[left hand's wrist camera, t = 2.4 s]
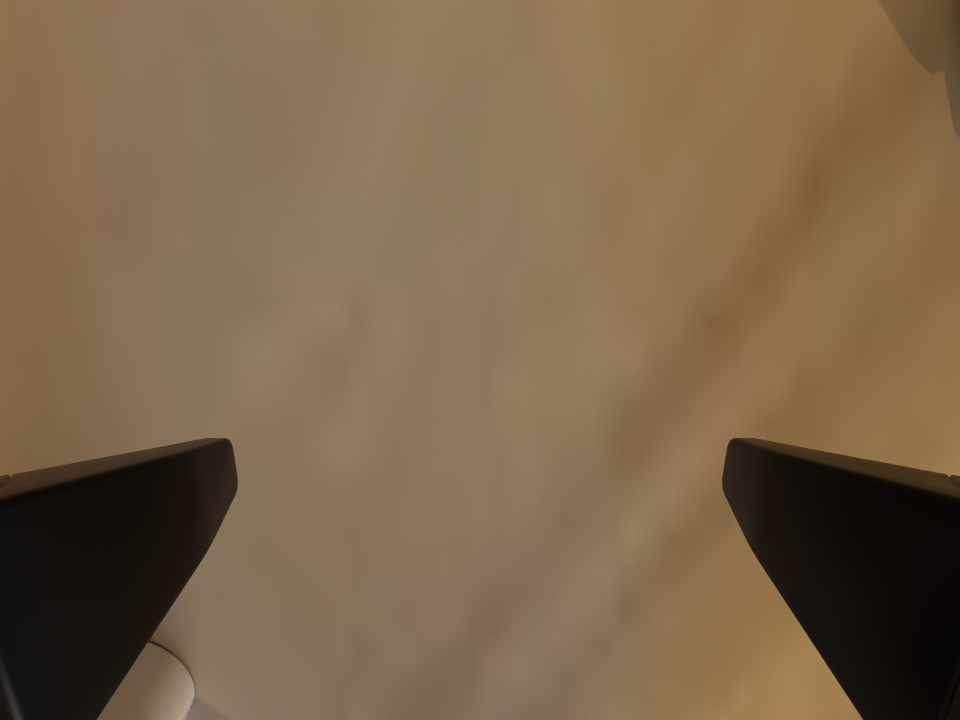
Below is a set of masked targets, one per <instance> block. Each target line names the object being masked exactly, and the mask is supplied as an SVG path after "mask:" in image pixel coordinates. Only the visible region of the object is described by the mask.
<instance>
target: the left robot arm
mask: <svg viewBox="0 0 960 720" xmlns="http://www.w3.org/2000/svg"><path fill="white" fill-rule="evenodd" d="M237 486H238V478H237V471H236V465H235V458H234V452H233V446H232V444H231V442H230V440H228V439H227V438H205V439H200V440H195V441H189V442H184V443H179V444H173V445H168V446H163V447H157V448H152V449H147V450H141V451H136V452H131V453H125V454H120V455H115V456H110V457H104V458H99V459H94V460H88V461H83V462H78V463H72V464H67V465H62V466H56V467H51V468H46V469H40V470H35V471H30V472H25V473H19V474H14V475H12V477H10V476H9V475H4V476H0V720H97V719H98V717H99V716H100V714H101V713H102V711H103V710H104V708H105V707H106V705H107V704H108V702H109V701H110V699H111V698H112V696H113V695H114V693H115V692H116V690H117V689H118V687H119V685H120V684H121V682H122V681H123V679H124V678H125V676H126V675H127V673H128V672H129V670H130V669H131V667H132V666H133V664H134V663H135V661H136V660H137V658H138V657H139V655H140V654H141V652H142V650H143V649H144V647H145V646H146V644H147V643H148V641H149V640H150V638H151V637H152V635H153V634H154V632H155V631H156V629H157V628H158V626H159V625H160V623H161V622H162V620H163V619H164V617H165V616H166V614H167V612H168V611H169V609H170V608H171V606H172V605H173V603H174V602H175V600H176V599H177V597H178V596H179V594H180V593H181V591H182V590H183V588H184V587H185V585H186V584H187V582H188V581H189V579H190V577H191V576H192V574H193V573H194V571H195V570H196V568H197V567H198V565H199V564H200V562H201V561H202V559H203V558H204V556H205V554H206V553H207V551H208V549H209V547H210V546H211V544H212V542H213V540H214V538H215V536H216V534H217V532H218V530H219V528H220V526H221V523H222V521H223V519H224V517H225V515H226V513H227V511H228V509H229V507H230V505H231V503H232V501H233V499H234V497H235V494H236V491H237ZM722 486H723V491H724V494H725V497H726V499H727V501H728V503H729V505H730V507H731V509H732V511H733V513H734V515H735V517H736V519H737V521H738V523H739V526H740V528H741V530H742V532H743V534H744V536H745V538H746V540H747V542H748V544H749V546H750V547H751V549H752V551H753V553H754V554H755V556H756V558H757V559H758V561H759V562H760V564H761V565H762V567H763V568H764V570H765V571H766V573H767V574H768V576H769V577H770V579H771V581H772V582H773V584H774V585H775V587H776V588H777V590H778V591H779V593H780V594H781V596H782V597H783V599H784V600H785V602H786V603H787V605H788V606H789V608H790V609H791V611H792V612H793V614H794V615H795V617H796V618H797V620H798V622H799V623H800V625H801V626H802V628H803V629H804V631H805V632H806V634H807V635H808V637H809V638H810V640H811V641H812V643H813V644H814V646H815V647H816V649H817V650H818V652H819V653H820V655H821V656H822V658H823V660H824V661H825V663H826V664H827V666H828V667H829V669H830V670H831V672H832V673H833V675H834V676H835V678H836V679H837V681H838V682H839V684H840V685H841V687H842V688H843V690H844V691H845V693H846V695H847V696H848V698H849V699H850V701H851V702H852V704H853V705H854V707H855V708H856V710H857V711H858V713H859V714H860V716H861V717H862V719H863V720H960V476H956V475H951V476H950V477H948V475H946V474H941V473H936V472H931V471H925V470H920V469H915V468H909V467H904V466H899V465H893V464H888V463H883V462H877V461H872V460H867V459H861V458H856V457H851V456H845V455H840V454H835V453H829V452H824V451H819V450H813V449H808V448H803V447H797V446H792V445H787V444H781V443H776V442H771V441H765V440H760V439H755V438H733V439H732V440H730V442H729V444H728V446H727V452H726V458H725V465H724V471H723V478H722Z"/></svg>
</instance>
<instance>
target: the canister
mask: <svg viewBox="0 0 960 720" xmlns="http://www.w3.org/2000/svg"><path fill="white" fill-rule="evenodd" d="M193 700H194V684H193V681H192V678H191V676H190V674H189V672H188V671H187V669H186V668H185V666H184V665H183V664H182V663H181V662H180V661H179V660H178V659H177V658H176V657H175V656H174V655H172V654H171V653H169V652H168V651H166V650H165V649H163V648H161V647H159V646H157V645H154V644H152V643H149V642H148V643H147V644H146V646H145V647H144V649H143V650H142V652H141V654H140V655H139V657H138V658H137V660H136V661H135V663H134V664H133V666H132V667H131V669H130V670H129V672H128V673H127V675H126V676H125V678H124V679H123V681H122V682H121V684H120V685H119V687H118V689H117V690H116V692H115V693H114V695H113V696H112V698H111V699H110V701H109V702H108V704H107V705H106V707H105V708H104V710H103V711H102V713H101V714H100V716H99V717H98V719H97V720H185V718H186V716H187V714H188V712H189V710H190V708H191V706H192V704H193Z"/></svg>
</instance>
